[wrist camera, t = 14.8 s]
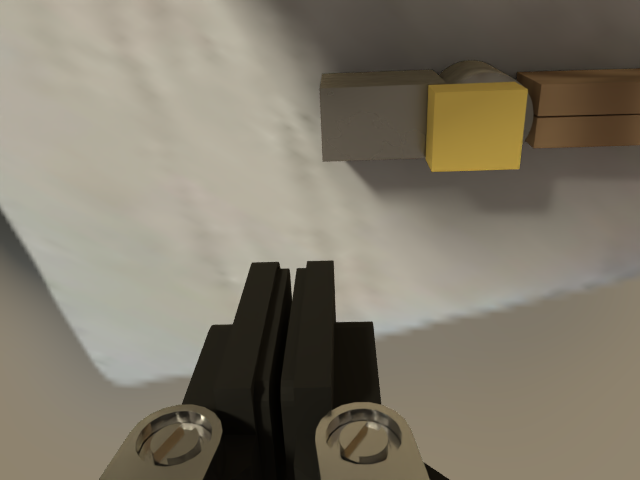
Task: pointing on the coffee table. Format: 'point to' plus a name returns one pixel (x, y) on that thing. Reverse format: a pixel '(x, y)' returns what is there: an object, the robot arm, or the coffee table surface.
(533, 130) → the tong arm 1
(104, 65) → the coffee table surface
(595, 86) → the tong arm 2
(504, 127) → the tab
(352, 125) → the tong hinge
